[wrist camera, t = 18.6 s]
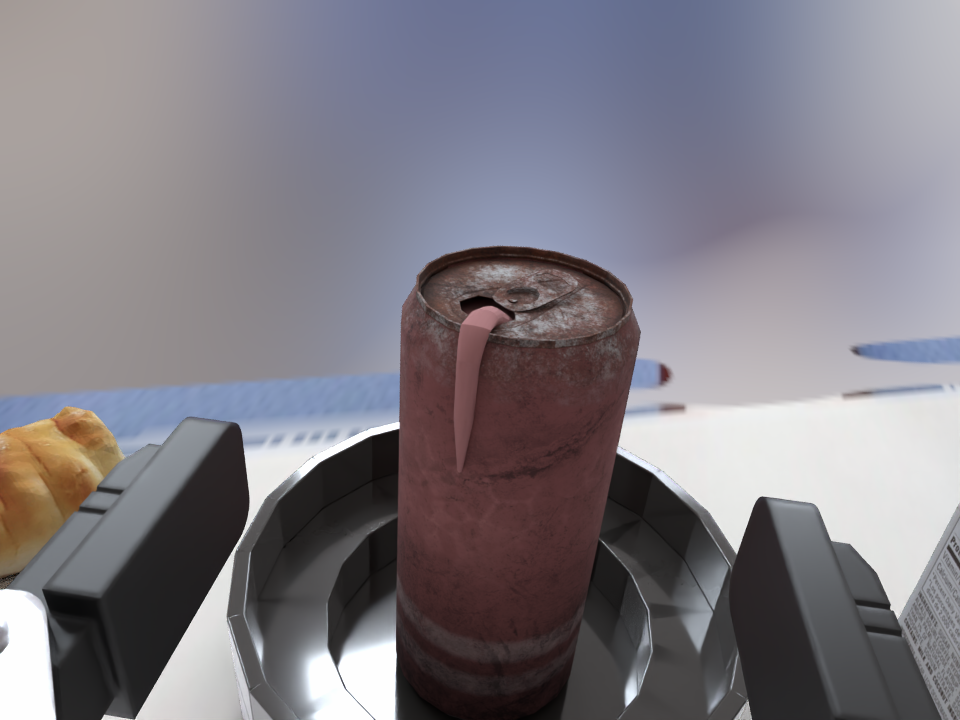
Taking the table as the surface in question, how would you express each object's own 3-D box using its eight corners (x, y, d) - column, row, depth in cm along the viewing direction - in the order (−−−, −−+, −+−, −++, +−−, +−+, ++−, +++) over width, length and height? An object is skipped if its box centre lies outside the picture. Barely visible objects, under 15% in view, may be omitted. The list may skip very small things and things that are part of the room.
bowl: (687, 532, 32) (714, 441, 29) (760, 983, 18) (822, 885, 16) (330, 482, 33) (326, 390, 31) (149, 870, 20) (114, 762, 17)
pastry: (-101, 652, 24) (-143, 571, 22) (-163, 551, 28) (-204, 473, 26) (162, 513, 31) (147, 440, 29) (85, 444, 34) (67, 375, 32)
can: (363, 708, 23) (356, 316, 16) (430, 565, 29) (447, 224, 21) (550, 767, 22) (633, 372, 15) (584, 607, 27) (656, 259, 20)
